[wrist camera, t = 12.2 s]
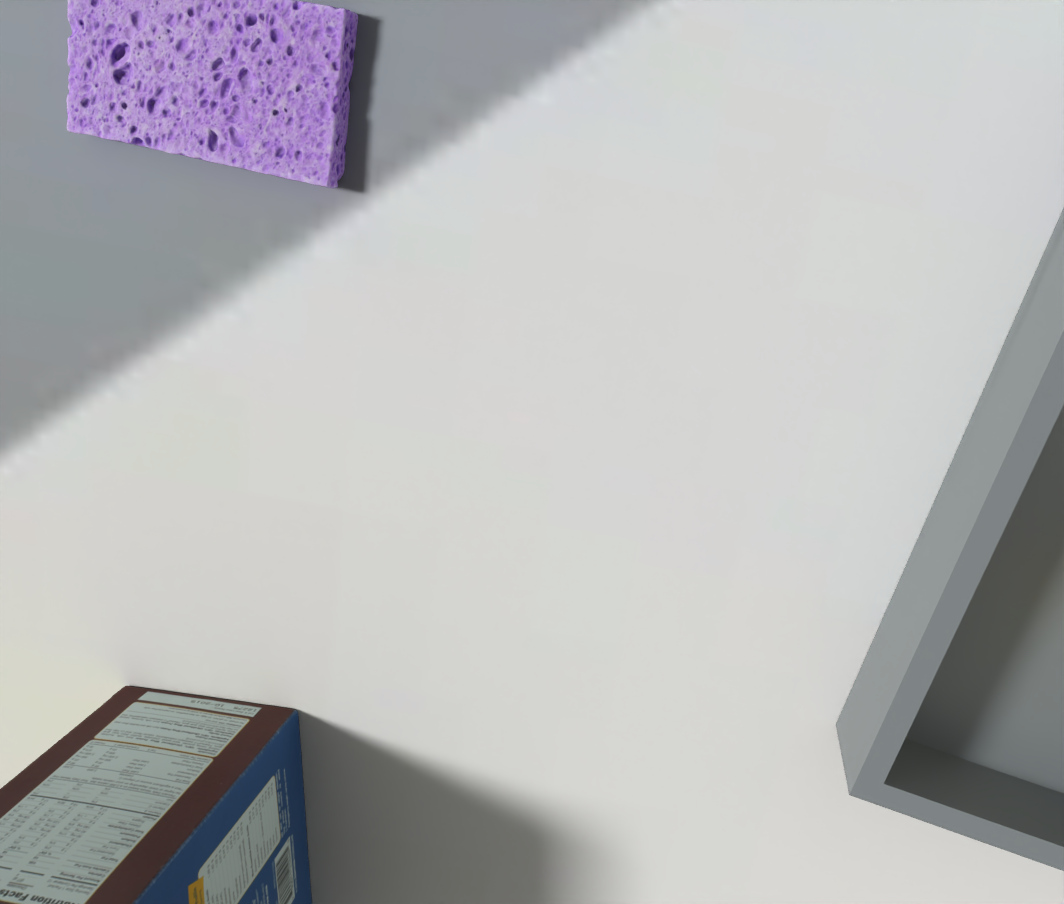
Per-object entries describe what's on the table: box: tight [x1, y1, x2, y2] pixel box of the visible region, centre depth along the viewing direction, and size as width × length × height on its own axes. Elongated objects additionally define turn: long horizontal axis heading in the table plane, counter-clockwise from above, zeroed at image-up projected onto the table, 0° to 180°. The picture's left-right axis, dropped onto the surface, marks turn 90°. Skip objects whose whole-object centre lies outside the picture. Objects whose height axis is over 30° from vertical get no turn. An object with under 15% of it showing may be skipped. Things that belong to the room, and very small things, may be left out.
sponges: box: [67, 0, 358, 188], centre depth 38 cm, size 7×13×2 cm, turn 79°
